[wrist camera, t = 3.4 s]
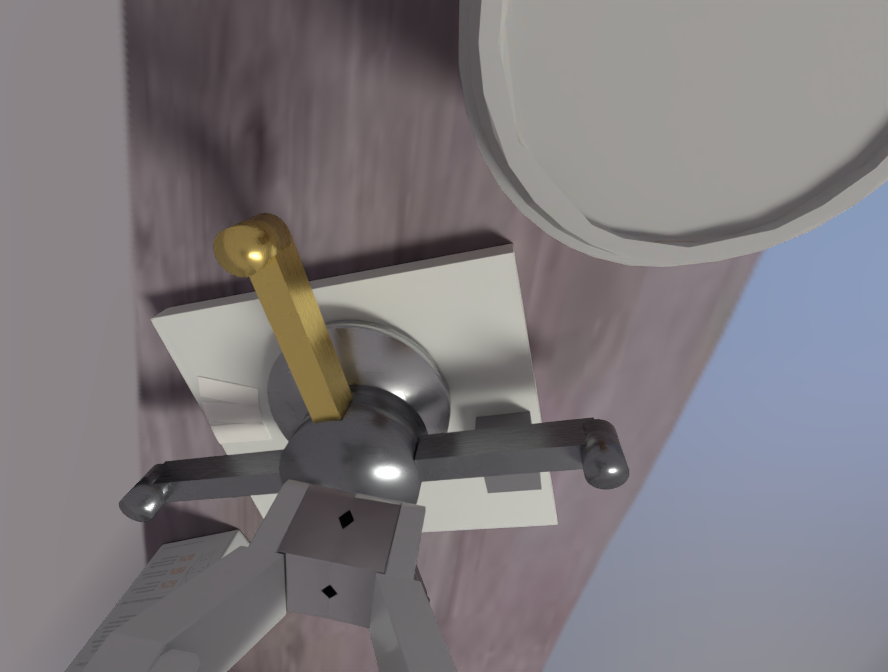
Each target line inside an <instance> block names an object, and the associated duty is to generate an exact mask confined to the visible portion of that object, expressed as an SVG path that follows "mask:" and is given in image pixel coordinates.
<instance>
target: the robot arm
mask: <svg viewBox="0 0 888 672" xmlns="http://www.w3.org/2000/svg"><path fill="white" fill-rule="evenodd" d="M425 512H426V506H421V505H416V504H411V503H406V502H403V503H402V501H398V500H392V499H387V498H381V497H376V496H370V495H365V494H359V493H357V494H355V493H350V492H346V491H341V490H337V489H332V488H328V487H323V486H319V485H314V484H309V483H305V482H300V481H295V480H290V479H288V480H287V481H286V482H285V483H284V484H283V486H282V487H281V489H280V491H279V493H278V494H277V496H276V498H275V500H274V502H273V503H272V505H271V507H270V509H269V511H268V512H267V514H266V516H265V518H264V519H263V521H262V523H261V525H260V527H259V528H258V530H257V532H256V534H255V536H254V537H253V539H252V541H251V543H250V545H249V546H248V547H246V546H240V547H238V548H237V549H235V550H234V551H232V552H231V553H229V554H228V555H226V556H225V557H223V558H222V559H220V560H219V561H217V562H216V563H214V564H213V565H211V566H210V567H208V568H207V569H205V570H204V571H202V572H201V573H199V574H198V575H196V576H195V577H193V578H192V579H190V580H189V581H187V582H186V583H184V584H183V585H181V586H180V587H178V588H177V589H175V590H174V591H172V592H171V593H169V594H168V595H166V596H165V597H163V598H162V599H160V600H159V601H157V602H156V603H154V604H153V605H151V606H150V607H148V608H147V609H145V610H144V611H142V612H141V613H139V614H138V615H136V616H135V617H133V618H132V619H130V620H129V621H127V622H126V623H124V624H123V625H121V626H120V627H118V628H117V629H115V630H114V631H112V632H111V633H110V634H109V635H108V637H107V638H106V639H105V641H104V642H103V644H102V645H101V646H100V648H99V649H98V650H97V652H96V653H95V655H94V656H93V657H92V659H91V660H90V661H89V663H88V664H87V666H86V667H85V668H84V670H83V671H82V672H227V671H228V670H229V669H230V668H231V667H232V666H233V665H234V664H235V663H236V662H237V661H238V660H240V659H241V658H242V657H243V656H244V655H245V654H246V653H247V652H248V651H249V650H250V649H251V648H252V647H253V646H254V645H255V644H256V643H257V642H258V641H259V640H260V639H261V638H262V637H263V636H264V635H265V634H266V633H267V632H268V631H269V630H270V629H272V628H273V627H274V626H275V625H276V624H277V623H278V622H279V621H280V620H281V619H282V618H283V617H284V616H285V615H286V611H288V612H294V613H299V614H305V615H311V616H317V617H323V618H328V619H333V620H337V621H341V622H345V623H350V624H354V625H358V626H362V627H367V628H370V629H369V632H370V636H371V640H372V644H373V648H374V652H375V656H376V660H377V664H378V668H379V672H457V670H456V667H455V665H454V662H453V660H452V658H451V655H450V653H449V650H448V648H447V645H446V643H445V640H444V638H443V636H442V633H441V631H440V628H439V626H438V623H437V621H436V618H435V616H434V613H433V611H432V609H431V606H430V604H429V601H428V599H427V596H426V594H425V591H424V589H423V587H422V584H421V582H420V581H416V580H413V579H414V573H415V568H416V562H417V557H418V551H419V546H420V540H421V534H422V529H423V523H424V518H425Z"/></svg>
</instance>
